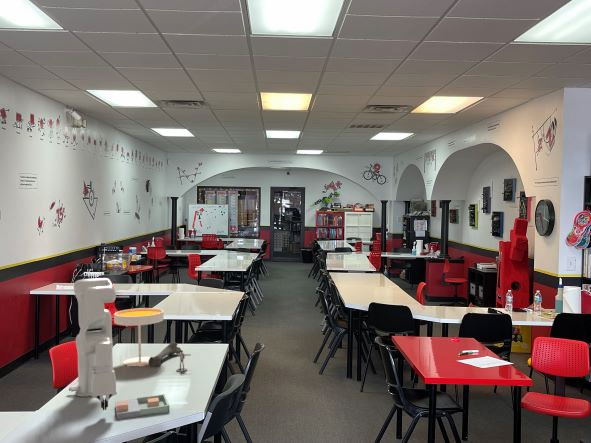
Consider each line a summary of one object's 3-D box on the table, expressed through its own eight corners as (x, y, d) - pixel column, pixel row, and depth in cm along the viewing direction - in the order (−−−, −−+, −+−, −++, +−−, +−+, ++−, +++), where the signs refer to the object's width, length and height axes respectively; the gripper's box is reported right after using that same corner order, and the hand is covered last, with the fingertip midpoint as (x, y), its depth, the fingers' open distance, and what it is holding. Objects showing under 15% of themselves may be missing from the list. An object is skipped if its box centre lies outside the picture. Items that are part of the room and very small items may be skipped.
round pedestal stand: (173, 361, 332) (172, 311, 332) (129, 372, 312) (128, 318, 311) (149, 353, 353) (148, 306, 353) (106, 362, 333) (105, 312, 332)
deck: (117, 419, 239) (117, 413, 239) (115, 406, 255) (115, 401, 255) (140, 416, 242) (140, 410, 242) (137, 403, 258) (137, 398, 258)
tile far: (159, 400, 253) (159, 406, 253) (158, 397, 258) (158, 402, 258) (148, 402, 252) (148, 407, 252) (147, 398, 257) (147, 403, 257)
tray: (140, 416, 242) (140, 409, 242) (137, 403, 258) (137, 397, 258) (169, 411, 247) (169, 405, 247) (164, 400, 263) (164, 394, 263)
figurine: (192, 369, 315) (192, 349, 315) (188, 372, 309) (188, 352, 309) (174, 368, 317) (174, 348, 317) (170, 372, 311) (170, 351, 310)
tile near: (116, 411, 242) (116, 405, 242) (116, 407, 246) (116, 402, 246) (128, 409, 243) (128, 404, 243) (127, 406, 248) (127, 400, 248)
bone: (168, 353, 353) (168, 340, 353) (182, 354, 351) (182, 340, 351) (144, 367, 322) (144, 352, 322) (159, 368, 320) (159, 353, 319)
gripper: (86, 372, 236) (86, 414, 236) (121, 369, 241) (122, 409, 241) (86, 368, 243) (86, 408, 243) (120, 364, 248) (121, 404, 248)
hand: (104, 409), depth 242 cm, fingers closed
